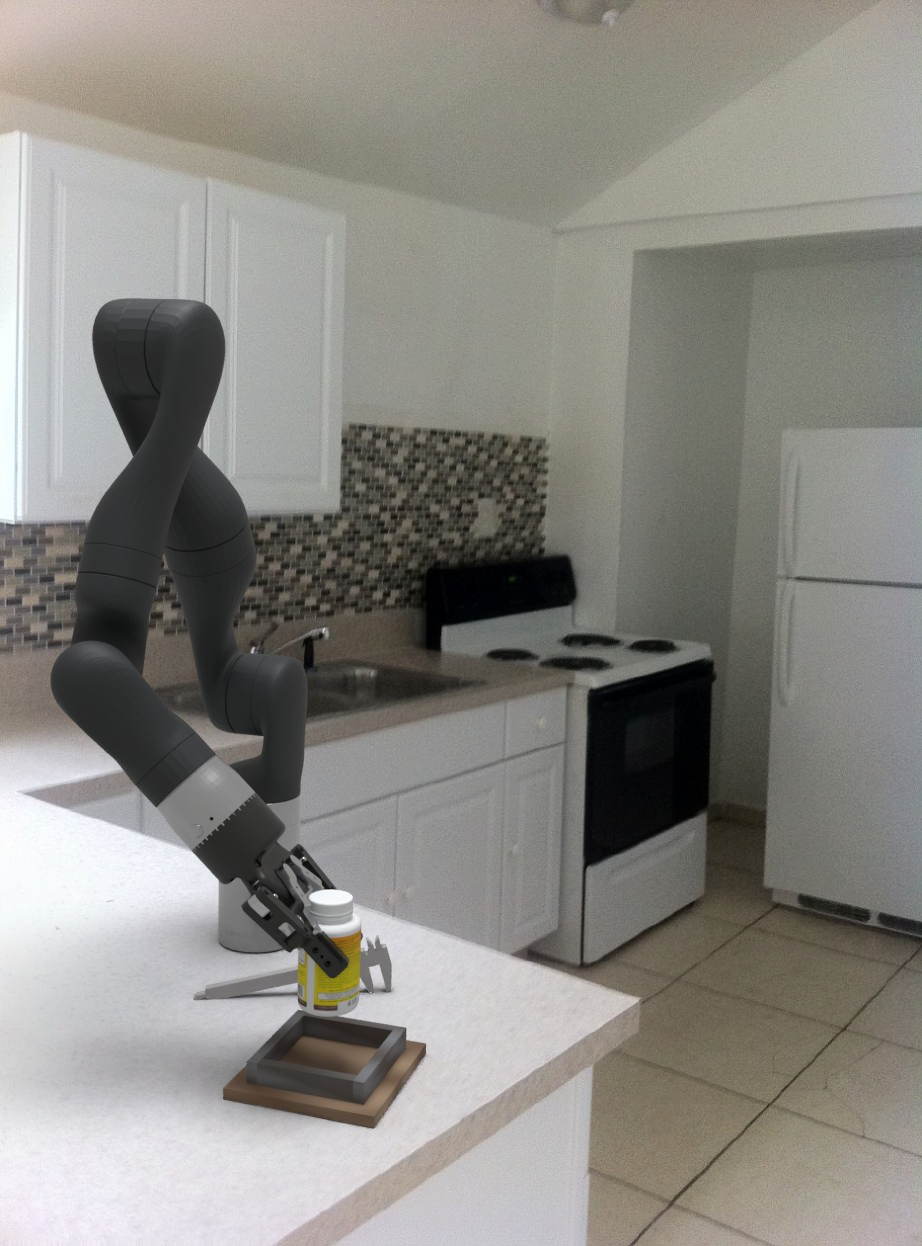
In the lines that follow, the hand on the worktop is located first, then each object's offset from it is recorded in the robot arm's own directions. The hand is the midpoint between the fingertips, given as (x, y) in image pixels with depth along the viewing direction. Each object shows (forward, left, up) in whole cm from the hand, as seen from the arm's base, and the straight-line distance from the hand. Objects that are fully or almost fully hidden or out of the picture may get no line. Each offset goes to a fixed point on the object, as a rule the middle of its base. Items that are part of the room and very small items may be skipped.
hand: (348, 957), depth 112 cm
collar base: (0, -2, -11) cm, 12 cm away
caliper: (-15, -12, -12) cm, 22 cm away
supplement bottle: (0, -2, -5) cm, 5 cm away
